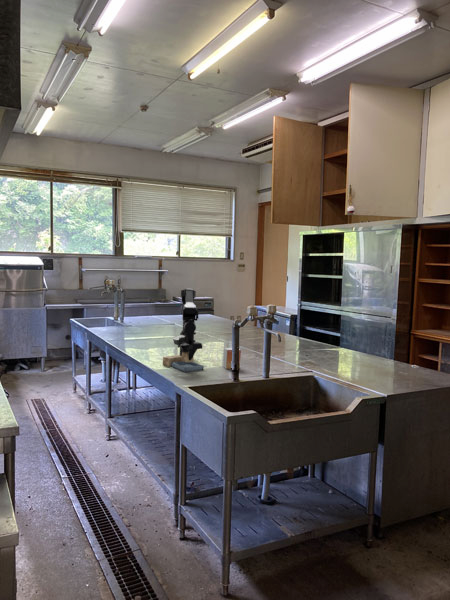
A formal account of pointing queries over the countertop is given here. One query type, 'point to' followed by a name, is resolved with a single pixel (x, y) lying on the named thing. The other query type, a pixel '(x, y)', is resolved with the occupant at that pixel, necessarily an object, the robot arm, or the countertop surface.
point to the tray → (187, 366)
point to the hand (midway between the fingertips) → (187, 359)
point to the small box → (229, 357)
